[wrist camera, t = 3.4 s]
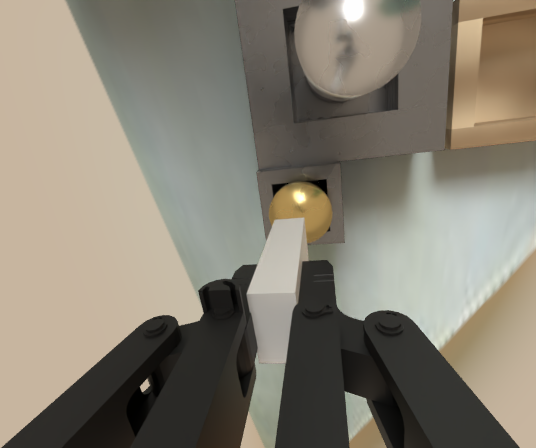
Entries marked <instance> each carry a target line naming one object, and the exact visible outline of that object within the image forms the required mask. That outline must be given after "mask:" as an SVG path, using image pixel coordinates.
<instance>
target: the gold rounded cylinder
mask: <svg viewBox="0 0 536 448" xmlns="http://www.w3.org/2000/svg"><path fill="white" fill-rule="evenodd" d="M291 218H305V228H306V238H307V243H311V242H314V241H316V240H318V239H319V238H321V237H322V236H323V235H324V234H325V233H326V232H327V230H328V229H329V227H330V224H331V221H332V207H331V202H330V200H329V198H328V196H327V194H326V193H325V192H324V191H323V190H322V189H321V186H320V184H319V182H318V181H317V180H312V181H298V182H292V183H289V184H287V185H285V186H284V187H282V188H281V189H280V190H279V191H278V192H277V193H276V194H275V196H274V198H273V200H272V202H271V204H270V208H269V219H270V223H271V225H273V223H274V220H278V219H291Z"/></svg>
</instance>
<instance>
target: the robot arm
mask: <svg viewBox="0 0 536 448" xmlns="http://www.w3.org/2000/svg"><path fill="white" fill-rule="evenodd" d="M198 292H199V296H200V300H201V304H202V308H203V312H204V314H203V316H202V317H201V319H200V321H198V322H194V323H190V324H185V325H181V326H179V325H178V321H177V320H176V318H175V317H172V316H169V315H162V316H157V317H154V318H152V319H150V320H147V321H146V322H144V323H143V324H141V325H140V326H139V327H138V328H136V329H135V330H134V331H133V332H132V333H131V334H130V335H128V336H127V337H126V338H125V339H124V340H123V341H122V342H121V343H120V344H118V345H117V346H116V347H115V348H114V349H113V350H112V351H110V352H109V353H108V354H107V355H106V356H105V357H104V358H102V359H101V360H100V361H99V362H98V363H97V364H96V365H94V366H93V367H92V368H91V369H90V370H89V371H88V372H87V373H85V374H84V375H83V376H82V377H81V378H80V379H79V380H77V381H76V382H75V383H74V384H73V385H72V386H71V387H70V388H69V389H67V390H66V391H65V392H64V393H63V394H62V395H61V396H60V397H58V398H57V399H56V400H55V401H54V402H53V403H51V404H50V405H49V406H48V407H47V408H46V409H45V410H43V411H42V412H41V413H40V414H39V415H38V416H37V417H36V418H34V419H33V420H32V421H31V422H30V423H29V424H28V425H27V426H25V427H24V428H23V429H22V430H21V431H20V432H19V433H17V434H16V435H15V436H14V437H13V438H12V439H11V440H10V441H8V443H6V444H5V445H4V446H3V447H2V448H240V446H241V441H242V437H243V432H244V428H245V423H246V419H247V415H248V410H249V406H250V401H251V397H252V392H253V388H254V384H255V379H256V368H255V363H254V361H255V357H256V353H257V354H258V359H259V363H278V364H286V366H285V373H284V381H283V389H282V397H281V405H280V412H279V420H278V428H277V436H276V443H275V448H349V437H348V426H347V415H346V404H345V392H344V391H346V392H349V393H352V394H355V395H358V396H361V397H364V398H366V399H367V404H368V406H369V408H370V410H371V413H372V415H373V417H374V419H375V422H376V424H377V426H378V429H379V431H380V433H381V435H382V438H383V440H384V442H385V445H386V447H387V448H519V446H518V445H517V444H516V443H515V441H514V440H513V439H512V438H511V437H510V435H509V434H508V433H507V432H506V431H505V430H504V428H503V427H502V426H501V425H500V424H499V422H498V421H497V420H496V419H495V418H494V417H493V415H492V414H491V413H490V412H489V411H488V409H487V408H486V407H485V406H484V405H483V403H482V402H481V401H480V400H479V399H478V397H477V396H476V395H475V394H474V393H473V391H472V390H471V389H470V388H469V387H468V386H467V385H466V383H465V382H464V381H463V380H462V378H460V376H459V375H458V374H457V372H456V371H455V370H454V369H453V368H452V366H450V364H449V363H448V362H447V361H446V359H445V358H444V357H443V356H442V355H441V353H440V352H439V351H438V350H437V349H436V347H435V346H434V345H433V344H432V343H431V342H430V340H429V339H428V338H427V337H426V336H425V334H424V333H423V332H422V331H421V330H420V328H419V327H418V326H417V325H416V324H415V323H414V321H412V320H411V319H410V318H409V317H408V316H406V315H403V314H401V313H399V312H394V311H389V310H387V311H377V312H374V313H371V314H369V315H368V316H367V317H366V318H365V320H364V321H362V320H357V319H354V318H350V317H348V316H346V315H344V314H343V313H342V312H340V310H339V309H338V308H337V305H336V296H335V285H334V274H333V266H332V265H331V264H330V263H329V262H328V261H327V260H321V261H309V258H308V248H307V238H306V228H305V218H291V219H278V220H274V223H273V225H272V228H271V231H270V233H269V236H268V239H267V241H266V244H265V247H264V249H263V252H262V254H261V257H260V260H259V262H258V264H256V265H243V266H241V267H240V268H239V269H238V270H236V271H235V273H234V275H233V277H232V279H221V280H216V281H213V282H210V283H208V284H206V285H204V286H203V287H202V288H201V289H200V290H199V291H198ZM146 379H148V381H149V384H150V386H149V387H148V389H146V390H145V391H144V392H142V391H141V389H140V386H141V384H143V382H144V381H145V380H146Z"/></svg>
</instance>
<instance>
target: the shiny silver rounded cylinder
mask: <svg viewBox="0 0 536 448" xmlns="http://www.w3.org/2000/svg"><path fill="white" fill-rule="evenodd" d="M420 27H421V4H420V0H302V1H301V3H300V5H299V9H298V12H297V16H296V21H295V30H294V36H295V47H296V52H297V55H298V58H299V61H300V64H301V66H302V69H303V72H304V74H305V77H306V80H307V82H308V85H309V87H310V89H311V91H312V92H313V93H314V94H315V95H316V96H317V97H318V98H320V99H321V100H323V101H325V102H329V103H343V102H346V101H349V100H351V99H354V98H356V97H359V96H361V95H364V94H367V93H369V92H372V91H374V90H376V89H378V88H380V87H382V86H383V85H385V84H386V83H388V82H389V81H390V80H391V79H393V78H394V77H395V76H396V75H397V74H398V73H399V72H400V71H401V69H402V68H403V67H404V65H405V64H406V63H407V61H408V60H409V58H410V56H411V54H412V52H413V50H414V48H415V46H416V43H417V40H418V37H419V32H420Z"/></svg>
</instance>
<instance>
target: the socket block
mask: <svg viewBox="0 0 536 448" xmlns="http://www.w3.org/2000/svg"><path fill="white" fill-rule="evenodd" d="M301 1H302V0H235V5H236V12H237V19H238V26H239V33H240V40H241V47H242V54H243V61H244V68H245V75H246V82H247V89H248V96H249V103H250V111H251V118H252V125H253V132H254V139H255V146H256V153H257V160H258V167H259V170H258V171H257V172H256V173H257V180H258V187H259V194H260V200H261V207H262V214H263V221H264V228H265V235H266V241H267V239H268V236H269V233H270V231H271V228H272V225H271V223H270V219H269V208H270V204H271V202H272V200H273V198H274V196H275V194H276V193H277V192H278V191H279V190H280V189H281V188H282V187H284V186H285V183H292V182H298V181H312V180H322V179H326V188H327V196H328V198H329V200H330V202H331V207H332V221H331V224H330V227H329V229H328V230H327V232H326V233H325V234H324V235H323V236H322V237H321V238H319V239H318V240H316V241H314V242H311V243H307V245H313V244H330V243H345V240H344V222H343V203H342V185H341V166H340V161H347V160H356V159H365V158H374V157H384V156H393V155H402V154H411V153H421V152H430V151H439V150H445V134H446V116H447V98H448V80H449V62H450V45H451V27H452V9H453V0H420V4H421V27H420V32H419V37H418V40H417V43H416V46H415V48H414V50H413V52H412V54H411V56H410V58H409V60H408V61H407V63H406V64H405V65H404V67H403V68H402V69H401V71H400V72H399V73H398V74H397V75H396V76H395V77H394V78H393V79H391V80H390V81H389V82H388V83H386V84H385V85H383V86H382V87H380V88H378V89H376V90H374V91H372V92H369V93H367V94H364V95H361V96H359V97H356V98H354V99H351V100H349V101H346V102H343V103H329V102H325V101H323V100H321V99H320V98H318V97H317V96H316V95H315V94H314V93H313V92H312V91H311V89H310V87H309V85H308V82H307V80H306V77H305V74H304V72H303V69H302V66H301V64H300V61H299V58H298V55H297V52H296V47H295V36H294V30H295V21H296V16H297V12H298V9H299V5H300V3H301Z"/></svg>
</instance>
